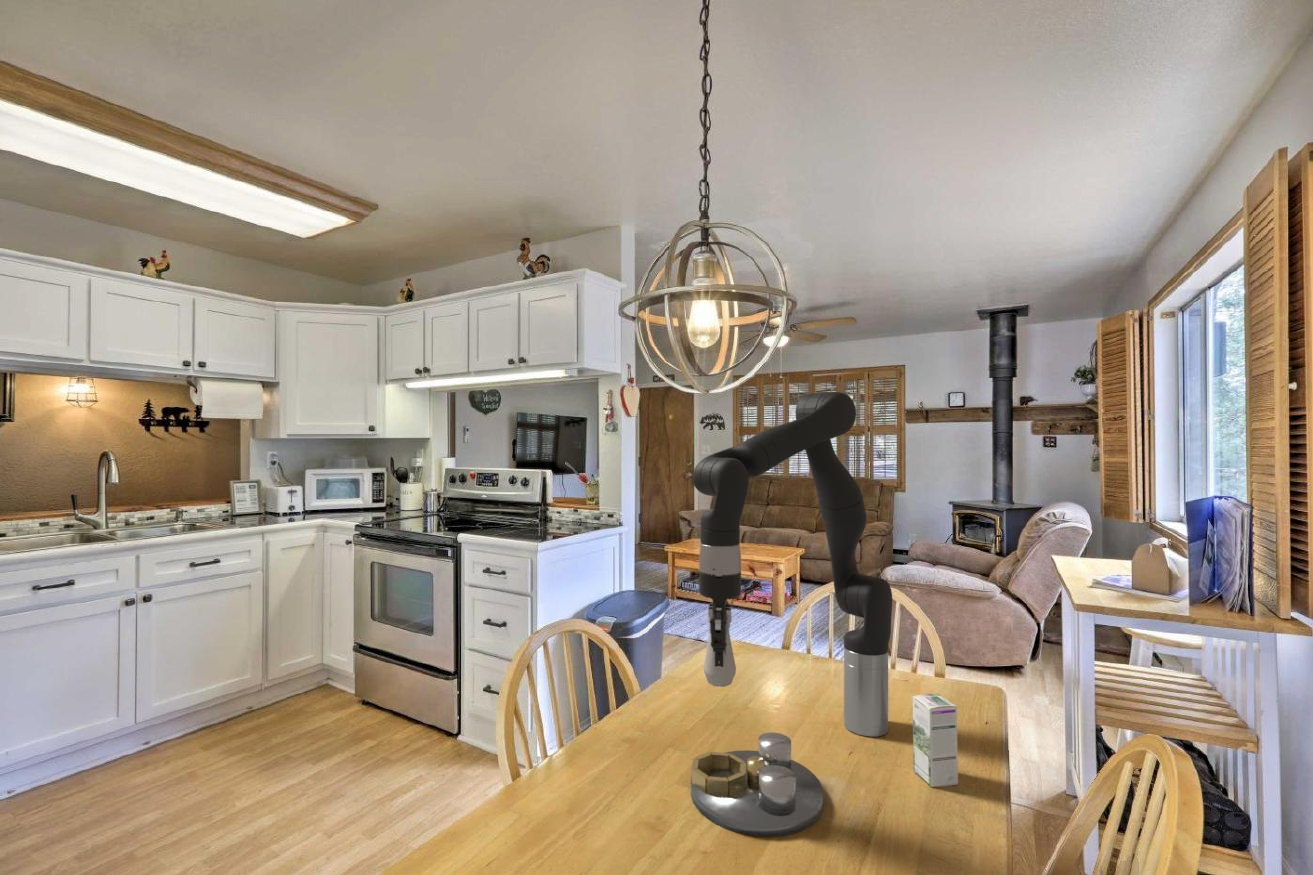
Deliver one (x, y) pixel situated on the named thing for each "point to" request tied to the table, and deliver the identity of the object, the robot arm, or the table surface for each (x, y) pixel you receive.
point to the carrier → (757, 789)
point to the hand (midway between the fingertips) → (719, 664)
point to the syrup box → (935, 740)
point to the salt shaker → (718, 673)
